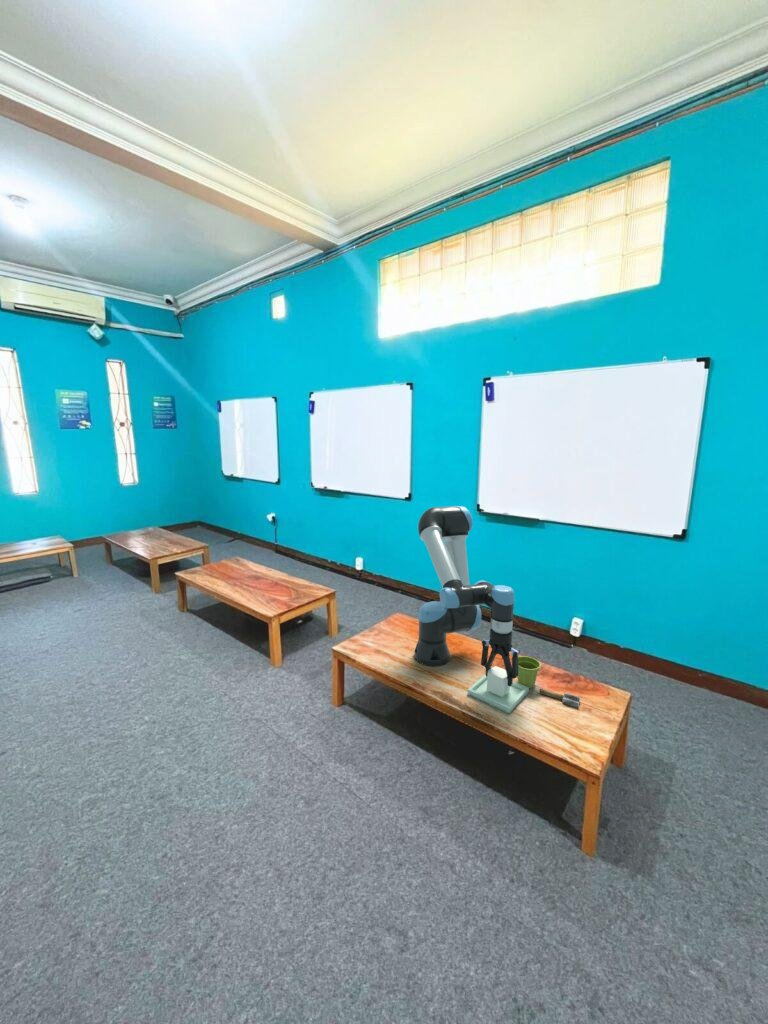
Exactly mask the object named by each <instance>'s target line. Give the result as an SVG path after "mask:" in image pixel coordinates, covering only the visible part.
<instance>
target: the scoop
mask: <svg viewBox="0 0 768 1024" xmlns="http://www.w3.org/2000/svg"><path fill="white" fill-rule="evenodd" d="M538 693H539V694H541V695H543V696H547V697H550V698H553V699H556V700H557V699H558V700H560V701H562V704H564V705H568V706H570V707H574V708H576V709H578V708H579V706H580V696H577V695H575V694H571V693H567V692H564V693H563V695H562V694H559V693H556V692H553V691H550V690H546V689H542V688H539V690H538Z"/></svg>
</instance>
